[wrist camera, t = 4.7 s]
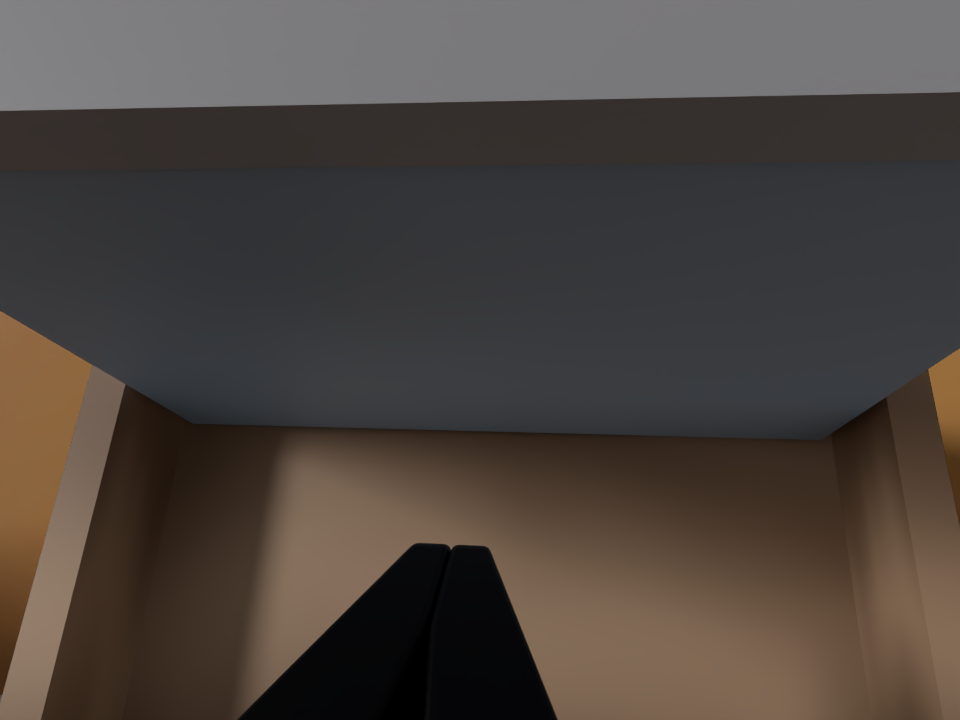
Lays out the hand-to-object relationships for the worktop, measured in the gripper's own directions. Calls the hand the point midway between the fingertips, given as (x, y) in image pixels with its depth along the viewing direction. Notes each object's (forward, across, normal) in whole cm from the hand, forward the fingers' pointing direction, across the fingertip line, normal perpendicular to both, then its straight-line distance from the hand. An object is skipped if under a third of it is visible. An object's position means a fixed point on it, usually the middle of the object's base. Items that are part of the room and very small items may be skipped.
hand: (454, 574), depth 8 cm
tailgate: (+8, 0, +2) cm, 8 cm away
